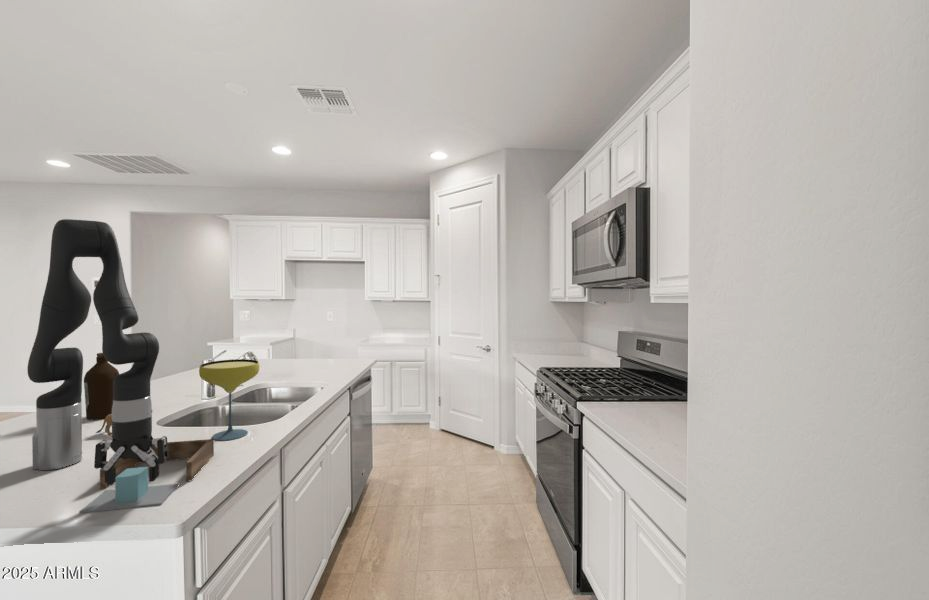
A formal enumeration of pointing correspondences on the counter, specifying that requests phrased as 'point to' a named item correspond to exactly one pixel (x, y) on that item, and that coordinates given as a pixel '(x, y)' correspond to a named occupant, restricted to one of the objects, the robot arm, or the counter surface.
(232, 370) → the cocktail glass
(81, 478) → the counter surface
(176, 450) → the open-front crate
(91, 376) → the olive oil
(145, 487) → the teal block
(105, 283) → the robot arm
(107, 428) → the lion figurine
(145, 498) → the rubber mat
